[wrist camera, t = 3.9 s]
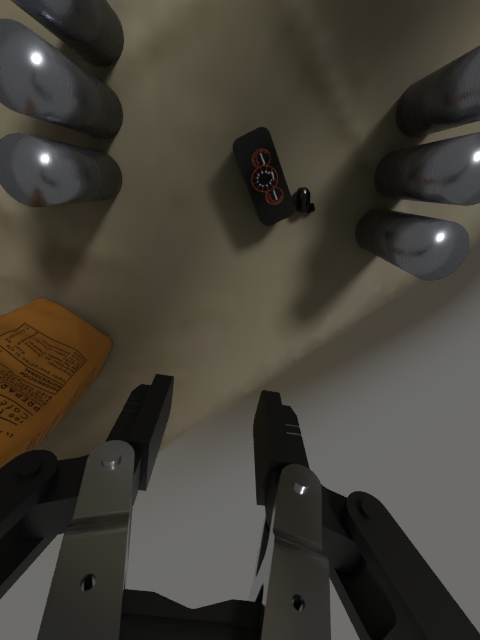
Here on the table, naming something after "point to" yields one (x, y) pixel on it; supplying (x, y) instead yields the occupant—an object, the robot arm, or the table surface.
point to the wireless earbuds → (267, 178)
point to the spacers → (106, 119)
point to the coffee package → (43, 371)
